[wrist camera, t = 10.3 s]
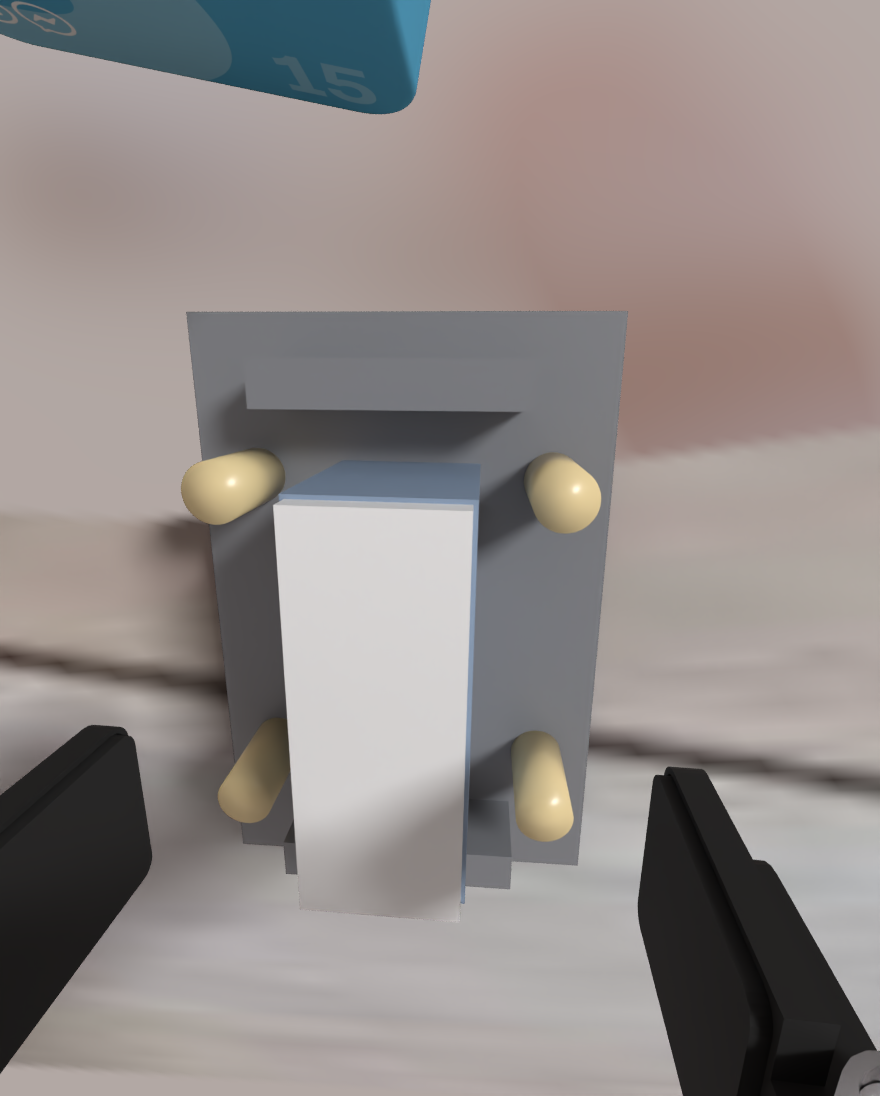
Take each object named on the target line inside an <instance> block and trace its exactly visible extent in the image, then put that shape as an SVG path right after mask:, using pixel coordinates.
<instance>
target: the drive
mask: <svg viewBox="0 0 880 1096" xmlns="http://www.w3.org/2000/svg"><path fill="white" fill-rule="evenodd" d="M480 467H481V464H472V463H433V462H394V461H355V460H342V461H341V462H339V463H337V464H335V465H333V466H331V467H329V468H327V469H325V470H323V471H321V472H320V473H318V474H316V475H314V476H312V477H310V478H308V479H306V480H304V481H302V482H300V483H299V484H297V485H295V486H293V487H291V488H289V489H287V490H285V491H283V492H281V493H279V502H278V503H276V504H274V505H273V511H274V526H275V541H276V556H277V571H278V586H279V601H280V616H281V631H282V647H283V662H284V677H285V692H286V707H287V722H288V737H289V752H290V767H291V782H292V797H293V812H294V828H295V843H296V858H297V873H298V888H299V903H300V910H312V911H324V912H336V913H349V914H361V915H374V916H386V917H398V918H411V919H423V920H436V921H448V922H460V903H462V904H465V880H466V854H467V828H468V802H469V776H470V749H471V721H472V692H473V664H474V636H475V608H476V580H477V551H478V523H479V495H480Z"/></svg>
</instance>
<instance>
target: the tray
mask: <svg viewBox="0 0 880 1096" xmlns="http://www.w3.org/2000/svg"><path fill="white" fill-rule="evenodd" d="M186 314H187V323H188V332H189V341H190V351H191V360H192V369H193V379H194V388H195V398H196V407H197V416H198V425H199V435H200V443H201V453H202V462H199V463H196V464H194V465H193V466H191V467H190V468H189V469H188V470H187V472H186V473H185V475H184V477H183V480H182V484H181V493H182V498H183V501H184V503H185V505H186V507H187V509H188V510H189V511H190V512H191V513H192V514H193V515H194V516H195V517H196V518H197V519H199V520H201V521H203V522H205V523H208V524H209V528H210V537H211V546H212V556H213V565H214V574H215V584H216V593H217V602H218V612H219V621H220V630H221V639H222V649H223V658H224V667H225V677H226V686H227V695H228V705H229V714H230V723H231V733H232V742H233V751H234V760H235V765H234V767H233V768H232V770H231V771H230V773H229V774H228V776H227V777H226V779H225V780H224V782H223V783H222V785H221V786H220V788H219V791H218V802H219V805H220V807H221V808H222V810H223V811H224V812H225V813H226V814H227V815H228V816H229V817H231V818H232V819H234V820H236V821H239V822H241V826H242V835H243V844H258V845H274V846H284V855H285V867H286V874H297V875H298V873H297V858H296V843H295V828H294V812H293V797H292V782H291V767H290V752H289V737H288V722H287V707H286V692H285V677H284V662H283V647H282V631H281V616H280V601H279V586H278V571H277V556H276V541H275V526H274V511H273V505H274V504H276V503H278V502H279V493H281V492H283V491H285V490H287V489H289V488H291V487H293V486H295V485H297V484H299V483H300V482H302V481H304V480H306V479H308V478H310V477H312V476H314V475H316V474H318V473H320V472H321V471H323V470H325V469H327V468H329V467H331V466H333V465H335V464H337V463H339V462H341V461H342V460H355V461H394V462H433V463H472V464H481V467H480V495H479V523H478V551H477V580H476V608H475V636H474V664H473V692H472V721H471V749H470V776H469V802H468V828H467V854H466V880H465V886H470V887H484V888H499V889H510V881H511V861H517V862H532V863H547V864H562V865H577V866H578V855H579V844H580V833H581V822H582V811H583V800H584V789H585V778H586V767H587V756H588V745H589V734H590V723H591V712H592V701H593V690H594V679H595V668H596V657H597V646H598V635H599V624H600V613H601V602H602V592H603V581H604V570H605V559H606V548H607V537H608V526H609V515H610V504H611V493H612V482H613V471H614V460H615V449H616V437H617V426H618V416H619V404H620V394H621V382H622V371H623V361H624V350H625V338H626V328H627V317H628V311H475V312H471V311H466V312H465V311H457V312H456V311H452V312H451V311H449V312H445V311H444V312H443V311H441V312H186Z"/></svg>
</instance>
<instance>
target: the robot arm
mask: <svg viewBox="0 0 880 1096" xmlns="http://www.w3.org/2000/svg"><path fill="white" fill-rule="evenodd" d="M151 861H152V850H151V844H150V837H149V831H148V824H147V818H146V811H145V805H144V798H143V792H142V785H141V779H140V772H139V766H138V759H137V753H136V746H135V742H134V739H133V738H132V737H131V736H128V733H127V731H126V730H125V729H124V728H122V727H114V726H100V725H90V726H87V727H86V728H84V729H83V730H81V731H80V732H79V733H78V734H76V735H75V736H74V737H73V738H71V739H70V740H69V741H68V742H66V743H65V744H64V745H63V746H61V747H60V748H59V749H58V750H56V751H55V752H54V753H53V754H51V755H50V756H49V757H48V758H46V759H45V760H44V761H43V762H41V763H40V764H39V765H38V766H36V767H35V768H34V769H33V770H31V771H30V772H29V773H28V774H26V775H25V776H24V777H23V778H21V779H20V780H19V781H18V782H16V783H15V784H14V785H13V786H11V787H10V788H9V789H8V790H6V791H5V792H4V793H3V794H1V795H0V1073H1V1072H2V1071H3V1069H4V1068H5V1067H6V1065H7V1064H8V1063H9V1061H10V1060H11V1058H12V1057H13V1056H14V1054H15V1053H16V1052H17V1050H18V1049H19V1048H20V1046H21V1045H22V1044H23V1042H24V1041H25V1039H26V1038H27V1037H28V1035H29V1034H30V1033H31V1031H32V1030H33V1029H34V1027H35V1026H36V1025H37V1023H38V1022H39V1021H40V1019H41V1018H42V1016H43V1015H44V1014H45V1012H46V1011H47V1010H48V1008H49V1007H50V1006H51V1004H52V1003H53V1002H54V1000H55V999H56V998H57V996H58V995H59V993H60V992H61V991H62V989H63V988H64V987H65V985H66V984H67V983H68V981H69V980H70V979H71V977H72V976H73V975H74V973H75V972H76V970H77V969H78V968H79V966H80V965H81V964H82V962H83V961H84V960H85V958H86V957H87V956H88V954H89V953H90V952H91V950H92V949H93V947H94V946H95V945H96V943H97V942H98V941H99V939H100V938H101V937H102V935H103V934H104V933H105V931H106V930H107V928H108V927H109V926H110V924H111V923H112V922H113V920H114V919H115V918H116V916H117V915H118V914H119V912H120V911H121V910H122V908H123V907H124V905H125V904H126V903H127V901H128V900H129V899H130V897H131V896H132V895H133V893H134V892H135V891H136V889H137V888H138V887H139V885H140V884H141V882H142V881H143V880H144V878H145V877H146V875H147V873H148V871H149V869H150V865H151ZM638 918H639V924H640V929H641V933H642V937H643V941H644V945H645V949H646V953H647V957H648V960H649V964H650V968H651V972H652V976H653V980H654V984H655V988H656V992H657V996H658V1000H659V1003H660V1007H661V1011H662V1015H663V1019H664V1023H665V1027H666V1031H667V1035H668V1039H669V1043H670V1046H671V1050H672V1054H673V1058H674V1062H675V1066H676V1070H677V1074H678V1078H679V1082H680V1086H681V1090H682V1093H683V1096H880V1051H877V1050H876V1048H875V1046H874V1044H873V1042H872V1041H871V1039H870V1037H869V1035H868V1034H867V1032H866V1030H865V1028H864V1027H863V1025H862V1023H861V1021H860V1020H859V1018H858V1016H857V1014H856V1013H855V1011H854V1009H853V1007H852V1006H851V1004H850V1002H849V1000H848V998H847V997H846V995H845V993H844V991H843V990H842V988H841V986H840V984H839V983H838V981H837V979H836V977H835V976H834V974H833V972H832V970H831V969H830V967H829V965H828V963H827V962H826V960H825V958H824V956H823V954H822V953H821V951H820V949H819V947H818V946H817V944H816V942H815V940H814V939H813V937H812V935H811V933H810V932H809V930H808V928H807V926H806V925H805V923H804V921H803V919H802V918H801V916H800V914H799V912H798V910H797V909H796V907H795V905H794V903H793V902H792V900H791V898H790V896H789V895H788V893H787V891H786V889H785V888H784V886H783V884H782V882H781V881H780V879H779V877H778V875H777V874H776V872H775V871H774V869H773V868H772V867H771V865H769V864H768V863H767V862H765V861H761V860H753V859H752V857H751V855H750V854H749V852H748V850H747V848H746V846H745V844H744V842H743V840H742V839H741V837H740V835H739V833H738V831H737V829H736V827H735V825H734V824H733V822H732V820H731V818H730V816H729V814H728V812H727V810H726V809H725V807H724V805H723V803H722V801H721V799H720V797H719V795H718V794H717V792H716V790H715V788H714V786H713V784H712V782H711V781H710V779H709V777H708V775H707V773H706V772H705V771H704V770H702V769H693V768H679V767H667V768H666V770H665V773H664V775H655V777H654V779H653V785H652V793H651V801H650V809H649V817H648V825H647V833H646V841H645V849H644V857H643V865H642V873H641V881H640V889H639V897H638Z"/></svg>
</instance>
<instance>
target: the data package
mask: <svg viewBox="0 0 880 1096" xmlns="http://www.w3.org/2000/svg"><path fill="white" fill-rule="evenodd" d="M430 2H431V0H0V34H2V35H5V36H8V37H10V38H13V39H16V40H19V41H22V42H25V43H29V44H32V45H37V46H41V47H46V48H51V49H56V50H60V51H65V52H70V53H75V54H80V55H85V56H89V57H95V58H100V59H104V60H109V61H114V62H119V63H124V64H129V65H133V66H138V67H143V68H148V69H153V70H158V71H162V72H168V73H172V74H177V75H182V76H187V77H191V78H196V79H201V80H206V81H211V82H216V83H221V84H225V85H230V86H235V87H240V88H245V89H250V90H254V91H259V92H264V93H270V94H274V95H279V96H284V97H288V98H294V99H298V100H303V101H308V102H313V103H318V104H322V105H327V106H332V107H337V108H342V109H347V110H352V111H356V112H362V113H369V114H389V113H394V112H397V111H400V110H402V109H404V108H405V107H407V106H408V105H409V104H410V103H411V102H412V100H413V98H414V96H415V94H416V89H417V83H418V77H419V70H420V64H421V58H422V52H423V46H424V39H425V33H426V27H427V21H428V15H429V8H430Z"/></svg>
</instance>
